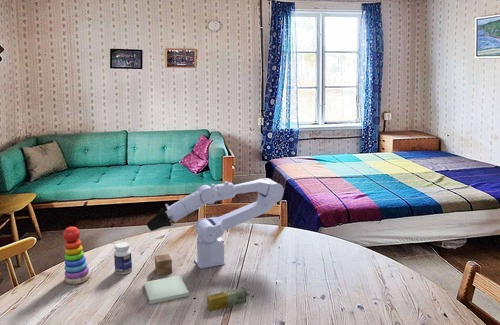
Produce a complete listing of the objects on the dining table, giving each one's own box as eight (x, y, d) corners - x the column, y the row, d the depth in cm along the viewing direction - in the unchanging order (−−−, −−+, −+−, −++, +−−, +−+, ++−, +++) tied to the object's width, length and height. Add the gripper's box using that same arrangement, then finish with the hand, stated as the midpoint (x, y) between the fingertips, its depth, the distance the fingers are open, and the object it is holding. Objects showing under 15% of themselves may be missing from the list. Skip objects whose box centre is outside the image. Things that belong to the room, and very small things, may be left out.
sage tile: (180, 278, 139) (180, 275, 139) (188, 295, 128) (188, 292, 128) (143, 285, 135) (143, 282, 135) (149, 304, 124) (149, 300, 124)
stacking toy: (79, 271, 144) (74, 221, 140) (95, 277, 140) (90, 225, 137) (59, 281, 138) (53, 228, 134) (75, 287, 134) (69, 233, 130)
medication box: (243, 298, 127) (243, 286, 127) (247, 302, 125) (246, 290, 124) (206, 307, 122) (205, 295, 122) (209, 312, 120) (209, 299, 119)
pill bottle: (127, 275, 141) (125, 248, 139) (112, 274, 142) (109, 247, 140) (135, 268, 147) (133, 242, 145) (120, 266, 148) (118, 240, 146)
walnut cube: (169, 266, 148) (168, 253, 147) (172, 272, 144) (171, 259, 143) (155, 269, 146) (154, 256, 145) (157, 275, 142) (157, 261, 141)
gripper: (178, 200, 151) (144, 219, 147) (177, 194, 137) (140, 215, 133) (188, 217, 150) (154, 236, 146) (188, 212, 136) (151, 233, 133)
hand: (148, 227), depth 140 cm, fingers open, 7 cm apart
